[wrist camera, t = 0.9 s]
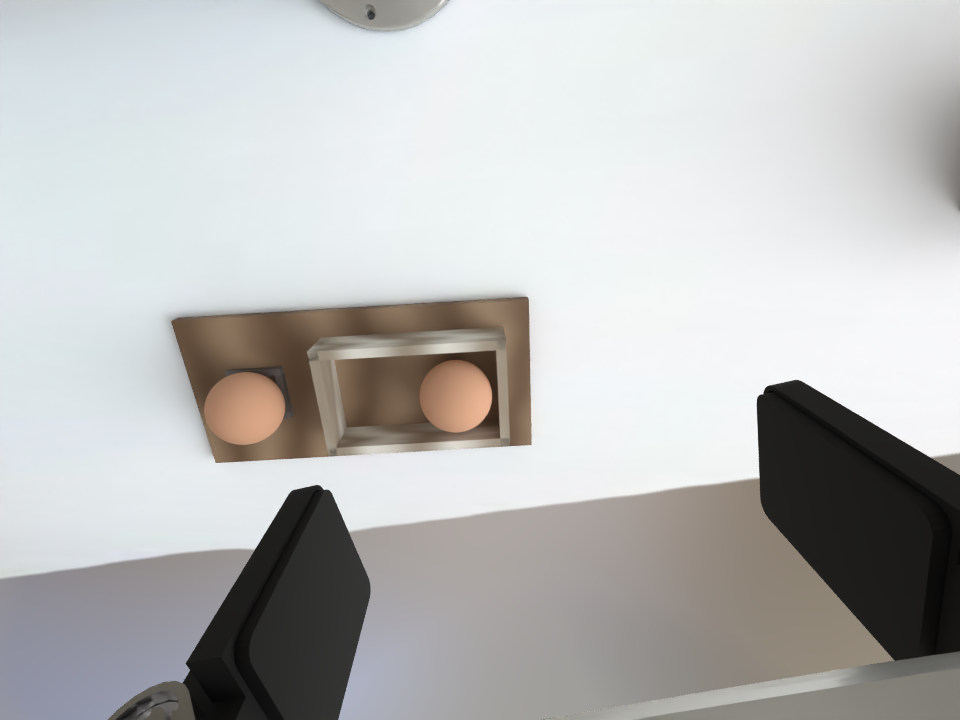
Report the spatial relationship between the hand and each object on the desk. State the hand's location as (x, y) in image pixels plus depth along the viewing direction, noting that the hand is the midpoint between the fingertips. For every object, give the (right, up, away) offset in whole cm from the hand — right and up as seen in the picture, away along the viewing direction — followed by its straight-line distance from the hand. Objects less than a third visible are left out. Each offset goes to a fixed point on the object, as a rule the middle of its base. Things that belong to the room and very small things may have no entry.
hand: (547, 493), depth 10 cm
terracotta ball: (-21, -1, +28) cm, 35 cm away
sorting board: (-12, +1, +32) cm, 34 cm away
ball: (-3, 0, +28) cm, 28 cm away
